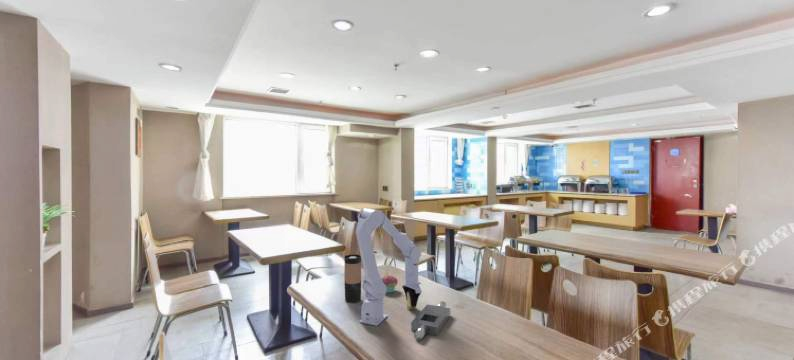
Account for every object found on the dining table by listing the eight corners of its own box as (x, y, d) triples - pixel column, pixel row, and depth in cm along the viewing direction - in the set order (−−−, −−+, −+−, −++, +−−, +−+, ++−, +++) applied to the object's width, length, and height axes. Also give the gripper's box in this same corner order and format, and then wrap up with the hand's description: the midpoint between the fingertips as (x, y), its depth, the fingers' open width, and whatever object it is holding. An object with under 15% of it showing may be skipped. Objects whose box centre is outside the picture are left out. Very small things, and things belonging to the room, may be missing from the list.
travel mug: (362, 297, 157) (362, 254, 156) (359, 303, 150) (359, 258, 149) (346, 296, 158) (346, 254, 157) (342, 302, 150) (342, 258, 150)
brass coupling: (414, 311, 141) (414, 294, 141) (405, 309, 143) (405, 293, 143) (417, 307, 145) (417, 291, 145) (409, 306, 147) (409, 290, 146)
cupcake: (390, 295, 159) (390, 270, 159) (376, 291, 164) (376, 267, 164) (401, 290, 166) (401, 266, 166) (387, 286, 171) (387, 263, 171)
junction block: (431, 343, 115) (431, 335, 115) (404, 337, 119) (404, 329, 119) (454, 310, 143) (454, 303, 142) (431, 306, 147) (431, 299, 147)
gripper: (427, 276, 138) (427, 309, 139) (413, 267, 152) (413, 296, 152) (411, 278, 136) (411, 312, 136) (398, 268, 149) (398, 299, 150)
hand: (411, 304), depth 144 cm, fingers closed on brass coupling, 4 cm apart
